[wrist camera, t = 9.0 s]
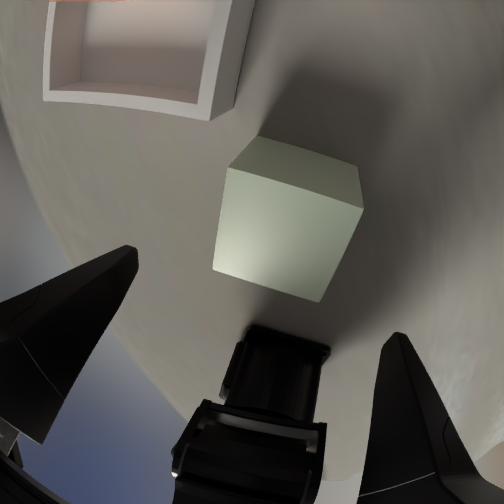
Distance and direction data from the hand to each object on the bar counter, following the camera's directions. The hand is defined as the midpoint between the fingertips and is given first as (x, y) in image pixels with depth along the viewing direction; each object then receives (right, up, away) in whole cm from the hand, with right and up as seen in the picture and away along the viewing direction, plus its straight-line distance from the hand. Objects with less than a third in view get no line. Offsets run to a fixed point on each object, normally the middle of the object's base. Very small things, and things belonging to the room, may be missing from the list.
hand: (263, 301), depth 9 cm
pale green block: (+2, +5, +6) cm, 8 cm away
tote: (-4, +16, -1) cm, 17 cm away
